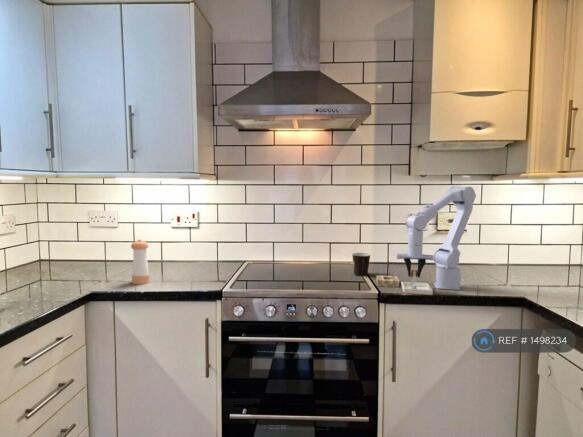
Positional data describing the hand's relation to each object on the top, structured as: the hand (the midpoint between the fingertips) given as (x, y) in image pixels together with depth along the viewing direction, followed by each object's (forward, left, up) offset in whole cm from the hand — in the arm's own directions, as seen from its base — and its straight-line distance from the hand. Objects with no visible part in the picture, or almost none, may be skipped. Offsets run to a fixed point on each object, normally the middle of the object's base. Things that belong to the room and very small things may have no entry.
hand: (413, 276), depth 155 cm
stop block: (+10, -8, -6) cm, 14 cm away
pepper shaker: (+118, +12, -6) cm, 119 cm away
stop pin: (0, 0, -5) cm, 5 cm away
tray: (-1, +1, -6) cm, 6 cm away
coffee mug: (+22, -21, -6) cm, 31 cm away
